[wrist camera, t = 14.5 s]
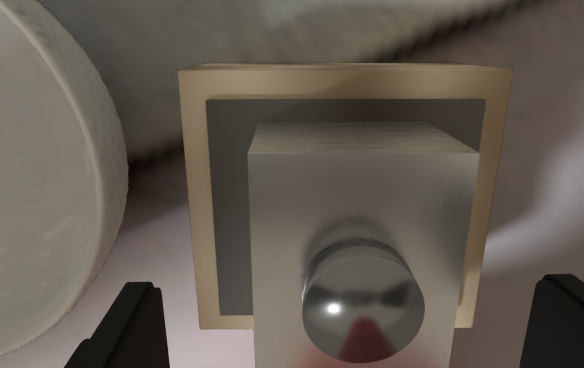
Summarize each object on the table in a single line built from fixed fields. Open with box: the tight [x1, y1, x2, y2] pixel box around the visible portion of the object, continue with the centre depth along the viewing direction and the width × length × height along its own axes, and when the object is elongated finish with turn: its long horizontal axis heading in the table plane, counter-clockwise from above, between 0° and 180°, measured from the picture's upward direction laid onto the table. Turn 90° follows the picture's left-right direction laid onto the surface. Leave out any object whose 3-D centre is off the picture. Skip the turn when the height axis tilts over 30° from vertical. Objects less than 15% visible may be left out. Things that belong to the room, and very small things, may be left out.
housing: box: [247, 121, 480, 368], centre depth 14 cm, size 8×6×6 cm
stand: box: [178, 63, 513, 329], centre depth 19 cm, size 12×11×6 cm
